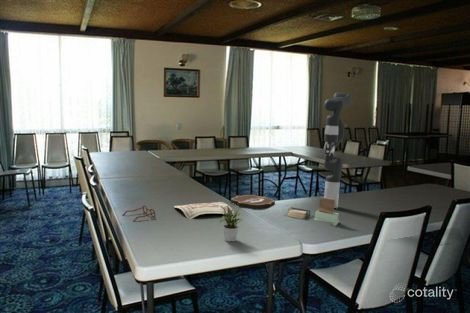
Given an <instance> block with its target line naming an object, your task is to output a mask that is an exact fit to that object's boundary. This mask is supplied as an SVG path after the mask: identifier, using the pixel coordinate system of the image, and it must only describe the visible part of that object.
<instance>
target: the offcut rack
mask: <svg viewBox="0 0 470 313" xmlns="http://www.w3.org/2000/svg"><path fill="white" fill-rule="evenodd" d="M290 210H298V211H305V212H306V217H305V218H303V219H301V218H296V217H290V216H288V213H289V211H290ZM311 212H312V210H311V209H304V208H299V207H293V206H291V207H290V208H288V211H287V212H286V213H285V214H283V215H282V217H287V218H293V219H297V220H298V219H299V220H304V221H308V220H309V219H310V218H311V217H312V216H313V215H312V214H311Z"/></svg>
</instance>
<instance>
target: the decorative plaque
mask: <svg viewBox="0 0 470 313" xmlns="http://www.w3.org/2000/svg"><path fill="white" fill-rule="evenodd" d="M231 202H232V203H234V204H236V205H235V206H237V207H238V206H239V207H238V208H244V209H251V210H263V209H270V208H272V207H274V206H275V204H276V200H275V199H272V198H269V197H267V196H261V195H260V196H259V195H254V194H245V195H234V197H231V198H230V203H231ZM234 204H233V205H234Z"/></svg>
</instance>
